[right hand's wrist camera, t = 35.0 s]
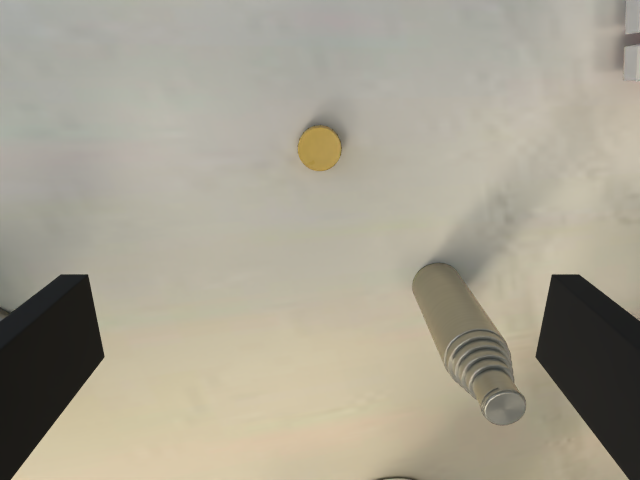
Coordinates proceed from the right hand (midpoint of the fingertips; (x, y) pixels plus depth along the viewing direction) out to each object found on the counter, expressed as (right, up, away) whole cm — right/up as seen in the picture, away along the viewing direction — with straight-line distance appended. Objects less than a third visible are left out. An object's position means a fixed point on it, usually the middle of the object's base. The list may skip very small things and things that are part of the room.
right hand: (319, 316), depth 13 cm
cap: (0, +11, +29) cm, 31 cm away
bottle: (+13, -3, +35) cm, 37 cm away
